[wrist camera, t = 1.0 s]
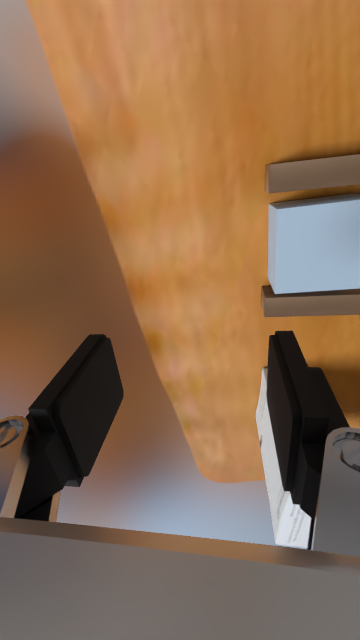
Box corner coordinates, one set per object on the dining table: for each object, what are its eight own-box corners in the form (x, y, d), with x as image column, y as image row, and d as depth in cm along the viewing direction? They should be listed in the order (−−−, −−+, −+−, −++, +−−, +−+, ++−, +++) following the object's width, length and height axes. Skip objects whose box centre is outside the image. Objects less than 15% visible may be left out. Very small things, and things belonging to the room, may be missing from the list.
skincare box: (261, 365, 33) (285, 489, 20) (315, 369, 33) (375, 500, 20) (254, 416, 37) (271, 548, 24) (302, 420, 37) (345, 558, 24)
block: (268, 203, 25) (276, 209, 22) (353, 193, 24) (378, 197, 20) (267, 277, 29) (274, 294, 25) (342, 271, 27) (362, 288, 23)
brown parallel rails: (265, 164, 24) (270, 164, 21) (411, 148, 22) (436, 145, 19) (261, 304, 30) (264, 317, 27) (375, 300, 28) (391, 313, 25)
